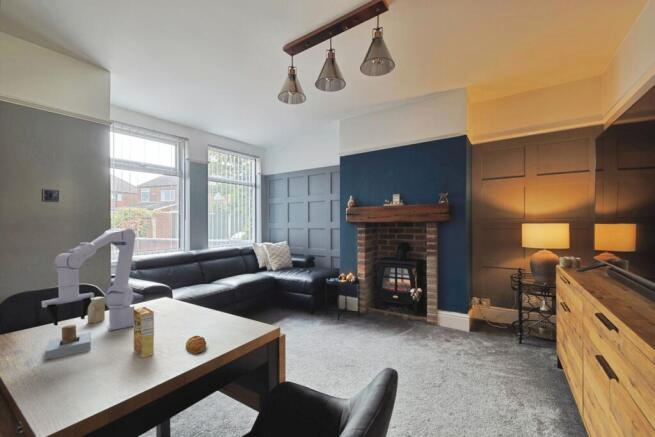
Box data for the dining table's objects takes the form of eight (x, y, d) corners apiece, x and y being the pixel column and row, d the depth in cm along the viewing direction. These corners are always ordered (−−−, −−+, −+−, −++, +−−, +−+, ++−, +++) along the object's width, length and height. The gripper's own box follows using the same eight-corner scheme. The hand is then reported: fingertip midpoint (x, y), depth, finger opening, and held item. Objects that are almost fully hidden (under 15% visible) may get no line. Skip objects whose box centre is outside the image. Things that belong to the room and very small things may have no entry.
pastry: (209, 351, 105) (209, 340, 105) (189, 357, 101) (189, 346, 101) (203, 342, 113) (203, 333, 113) (184, 347, 109) (184, 337, 109)
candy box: (132, 351, 106) (132, 309, 106) (146, 347, 109) (145, 306, 109) (141, 358, 100) (140, 314, 100) (155, 354, 103) (154, 311, 103)
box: (94, 323, 136) (94, 299, 136) (87, 322, 136) (86, 299, 136) (105, 319, 141) (105, 296, 141) (98, 319, 142) (97, 296, 142)
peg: (75, 344, 112) (74, 323, 111) (78, 347, 109) (77, 326, 109) (61, 348, 108) (60, 327, 108) (63, 351, 106) (63, 329, 106)
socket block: (90, 339, 117) (90, 332, 117) (90, 349, 108) (90, 341, 108) (49, 348, 110) (49, 340, 110) (45, 360, 100) (45, 351, 100)
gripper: (89, 280, 117) (90, 314, 117) (39, 287, 105) (40, 325, 105) (95, 282, 113) (96, 317, 113) (44, 290, 101) (44, 329, 101)
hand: (69, 321), depth 109 cm, fingers open, 7 cm apart
